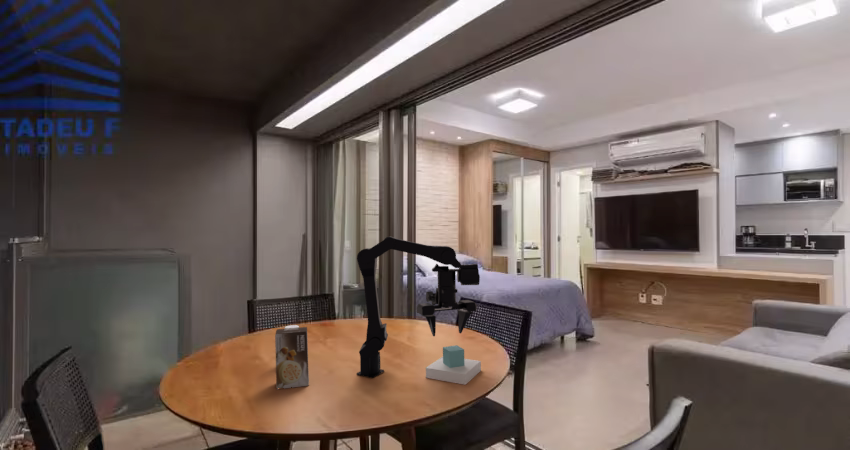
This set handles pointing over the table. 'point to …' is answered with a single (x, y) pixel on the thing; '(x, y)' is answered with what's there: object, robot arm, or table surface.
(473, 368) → the grey base
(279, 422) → the table surface
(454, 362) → the teal block
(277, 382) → the coffee box
